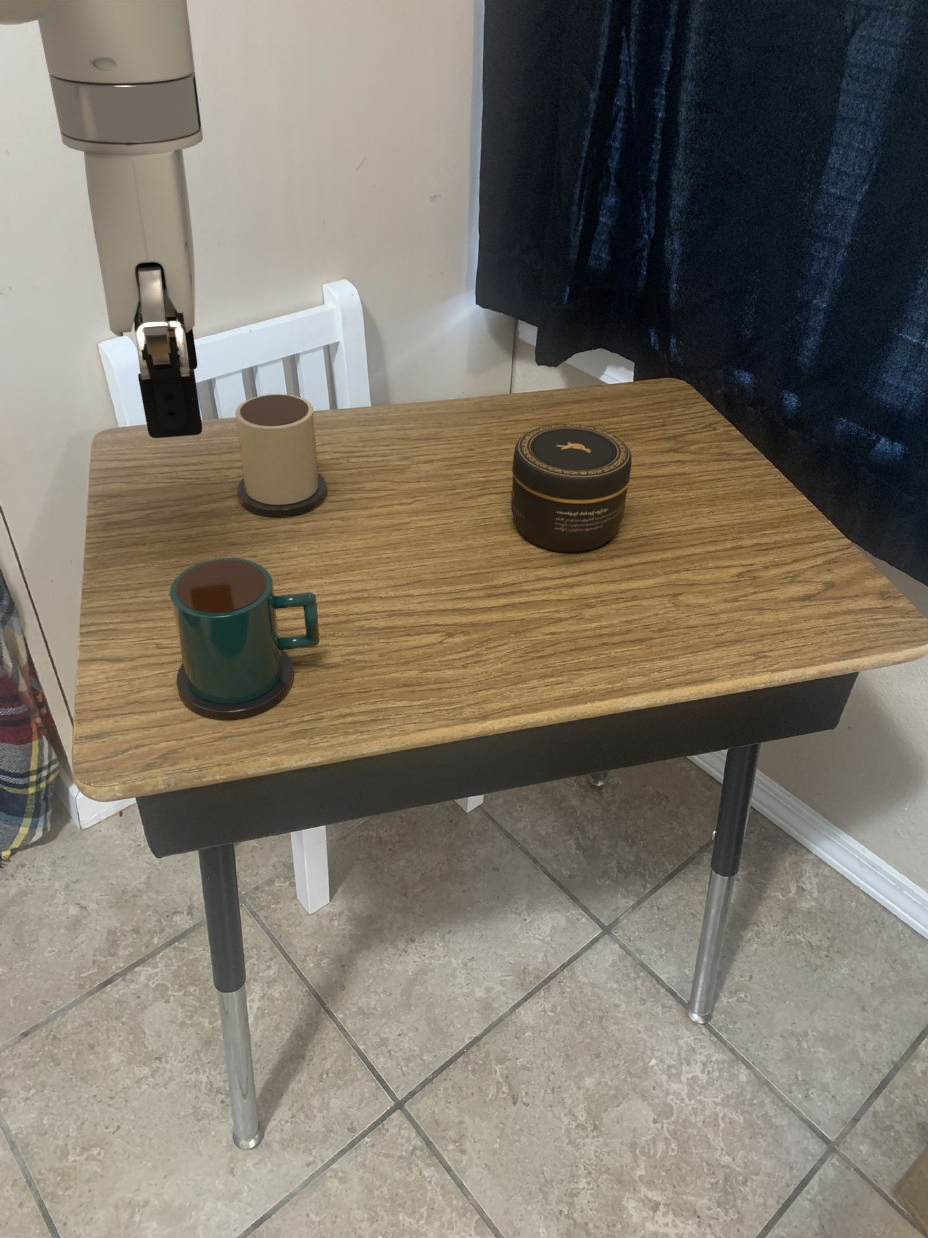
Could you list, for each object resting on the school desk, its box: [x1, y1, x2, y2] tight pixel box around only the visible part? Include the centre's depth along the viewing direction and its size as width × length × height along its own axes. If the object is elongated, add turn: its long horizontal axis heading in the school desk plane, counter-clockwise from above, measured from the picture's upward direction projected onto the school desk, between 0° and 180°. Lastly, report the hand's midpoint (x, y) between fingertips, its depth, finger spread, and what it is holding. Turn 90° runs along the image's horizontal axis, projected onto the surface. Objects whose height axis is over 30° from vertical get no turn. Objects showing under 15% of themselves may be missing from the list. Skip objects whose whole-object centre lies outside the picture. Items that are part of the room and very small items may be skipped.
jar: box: [510, 423, 632, 553], centre depth 84 cm, size 10×10×8 cm
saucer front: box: [175, 650, 294, 721], centre depth 69 cm, size 8×8×1 cm
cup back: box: [235, 393, 319, 505], centre depth 87 cm, size 9×7×8 cm
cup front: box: [169, 557, 320, 704], centre depth 67 cm, size 9×7×8 cm
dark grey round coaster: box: [236, 472, 328, 518], centre depth 89 cm, size 8×8×1 cm
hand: (175, 400), depth 64 cm, fingers open, 9 cm apart
